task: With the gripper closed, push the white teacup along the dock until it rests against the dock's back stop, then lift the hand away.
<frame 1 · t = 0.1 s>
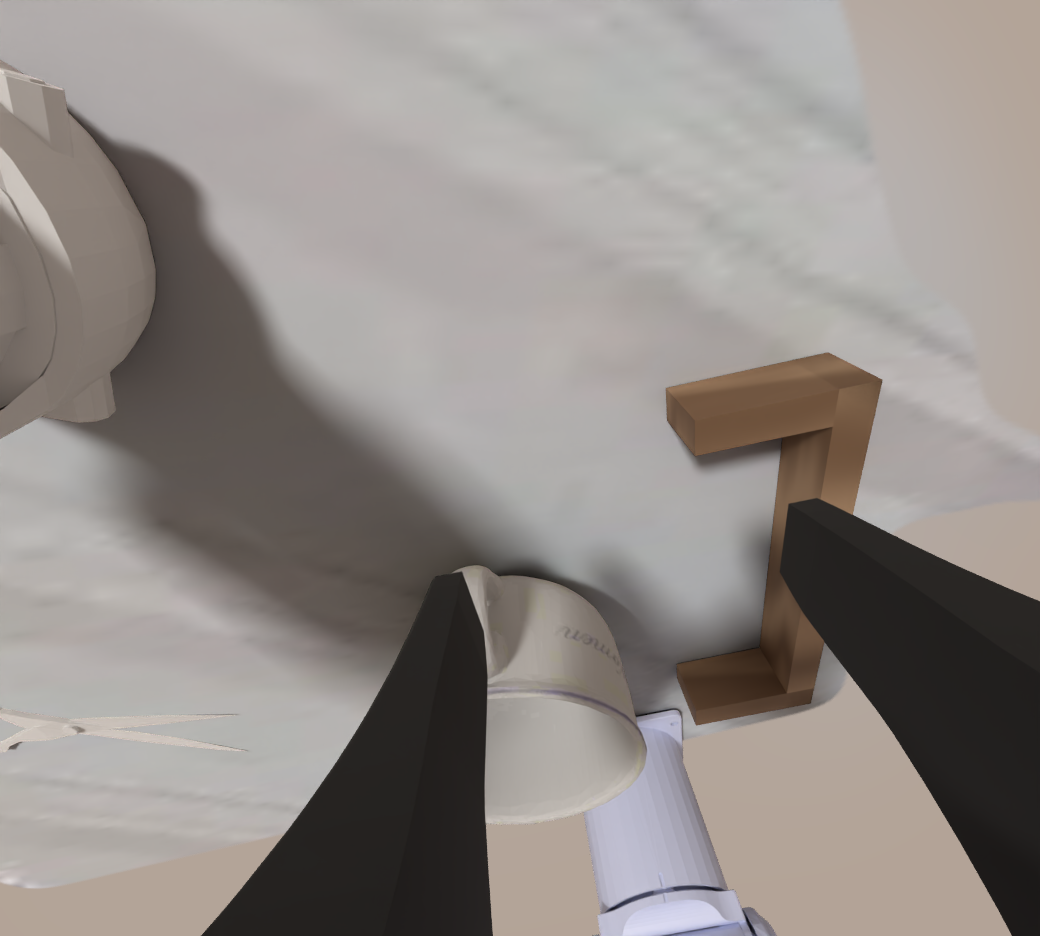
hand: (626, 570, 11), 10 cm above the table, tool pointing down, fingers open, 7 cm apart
dock: (736, 551, 25), on the table
teacup: (503, 595, 25), on the table
scissors: (68, 716, 28), on the table
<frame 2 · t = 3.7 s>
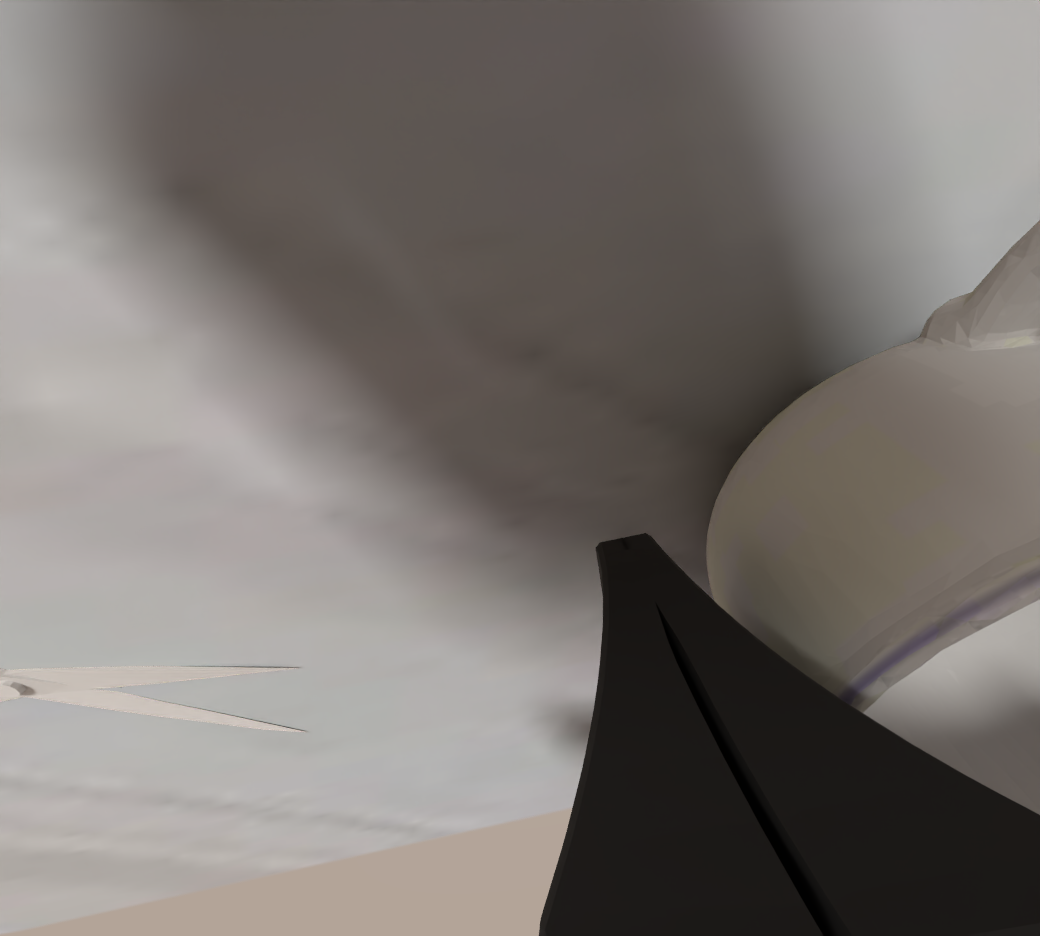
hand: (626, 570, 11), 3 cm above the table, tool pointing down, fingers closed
teacup: (852, 426, 13), on the table, touching gripper
scissors: (7, 668, 16), on the table
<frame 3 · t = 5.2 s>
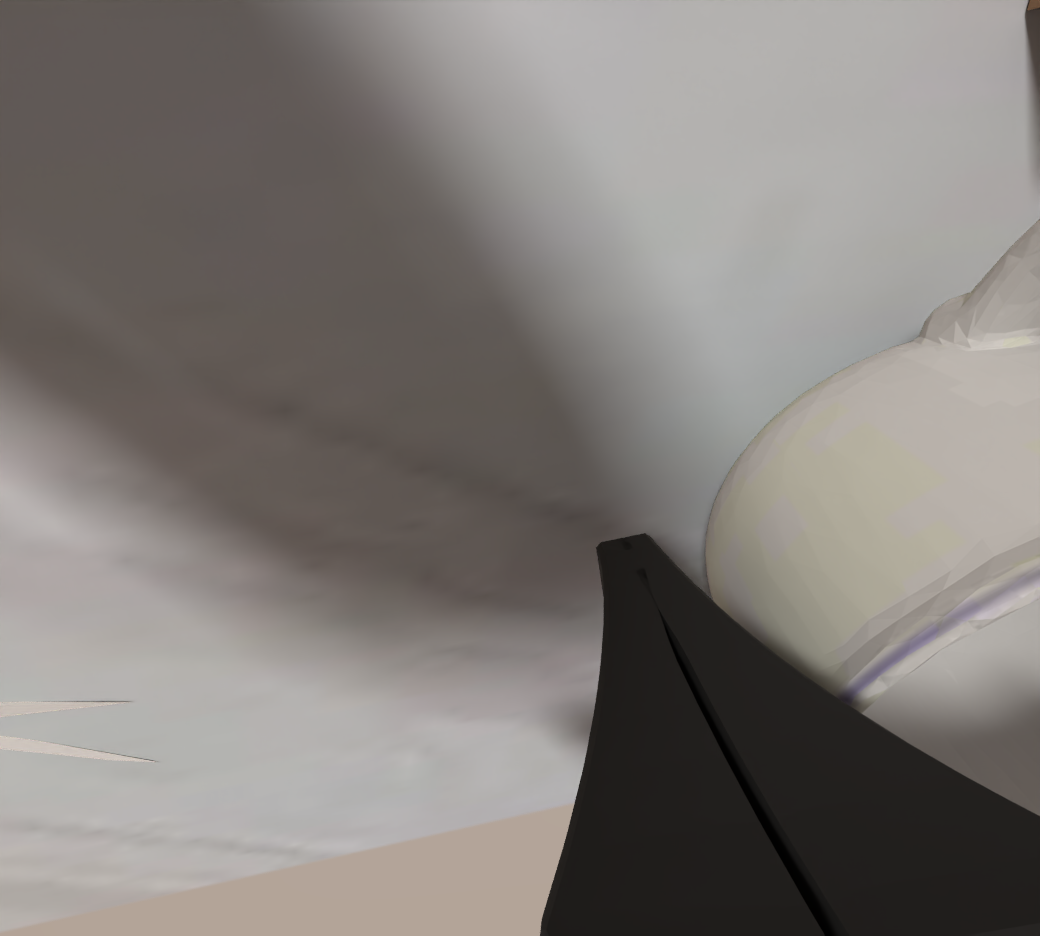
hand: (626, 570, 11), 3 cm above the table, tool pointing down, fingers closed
teacup: (851, 426, 13), on the table, touching gripper
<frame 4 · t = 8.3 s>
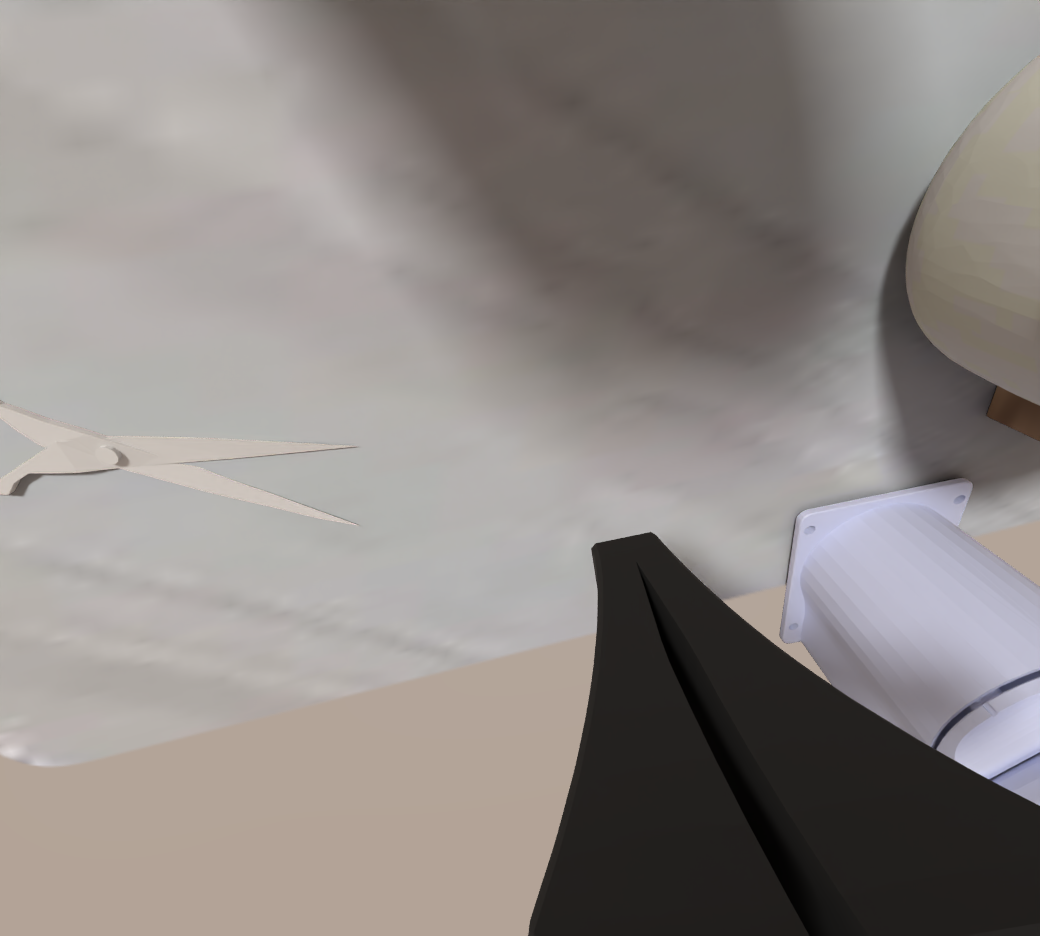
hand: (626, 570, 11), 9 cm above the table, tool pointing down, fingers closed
teacup: (1028, 151, 16), on the table
scissors: (103, 445, 19), on the table
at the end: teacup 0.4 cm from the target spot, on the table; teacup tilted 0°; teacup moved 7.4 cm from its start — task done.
